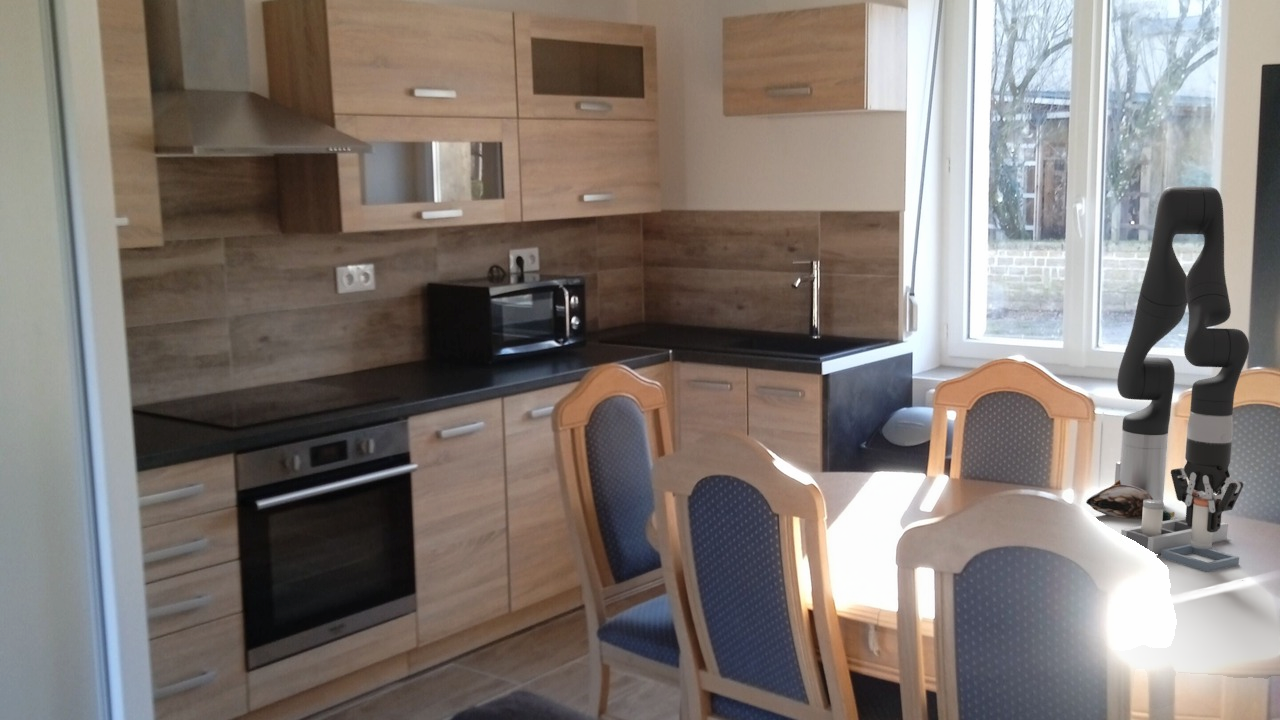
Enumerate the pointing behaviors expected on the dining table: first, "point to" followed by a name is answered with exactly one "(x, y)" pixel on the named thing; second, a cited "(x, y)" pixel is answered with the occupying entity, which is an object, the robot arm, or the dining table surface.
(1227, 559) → the tray
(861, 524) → the dining table surface
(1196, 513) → the cylinder
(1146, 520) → the fuse
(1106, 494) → the decorative duck model
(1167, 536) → the grey compartment rack
